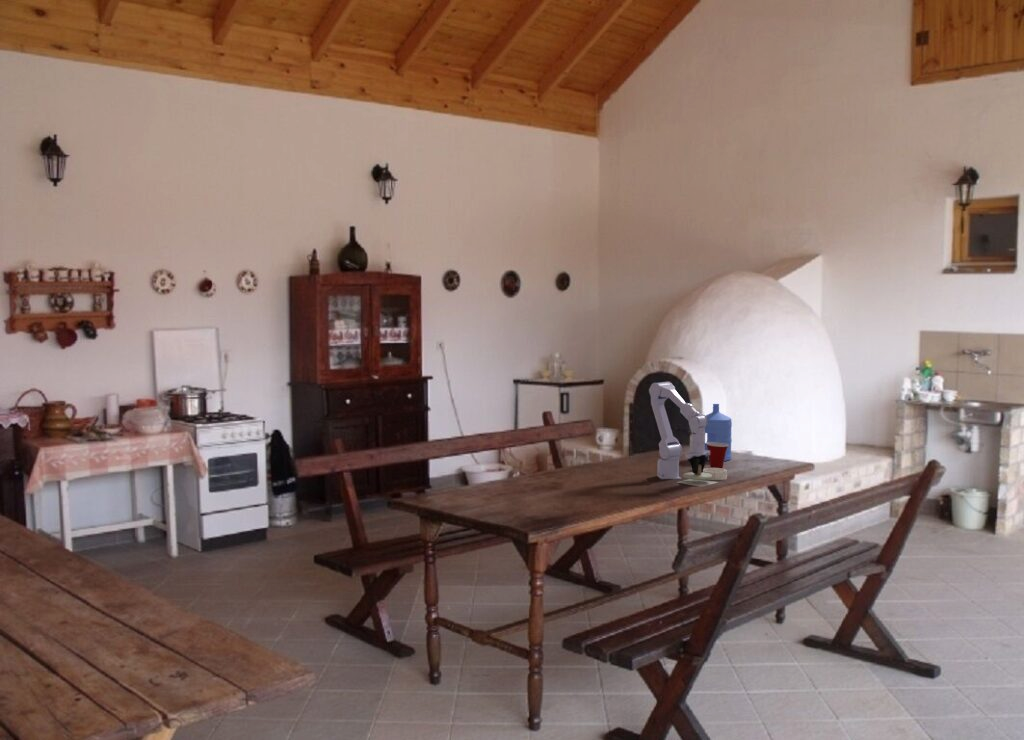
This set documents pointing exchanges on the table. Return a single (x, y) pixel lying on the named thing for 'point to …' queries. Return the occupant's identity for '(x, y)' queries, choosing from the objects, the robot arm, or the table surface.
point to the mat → (697, 482)
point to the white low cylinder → (716, 473)
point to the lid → (698, 475)
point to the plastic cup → (716, 453)
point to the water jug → (719, 430)
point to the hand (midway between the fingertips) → (697, 472)
